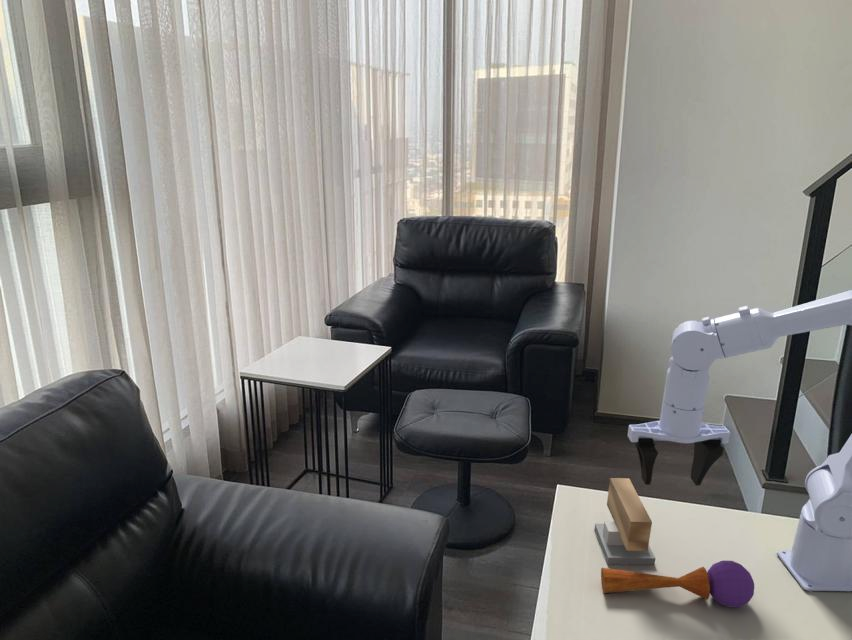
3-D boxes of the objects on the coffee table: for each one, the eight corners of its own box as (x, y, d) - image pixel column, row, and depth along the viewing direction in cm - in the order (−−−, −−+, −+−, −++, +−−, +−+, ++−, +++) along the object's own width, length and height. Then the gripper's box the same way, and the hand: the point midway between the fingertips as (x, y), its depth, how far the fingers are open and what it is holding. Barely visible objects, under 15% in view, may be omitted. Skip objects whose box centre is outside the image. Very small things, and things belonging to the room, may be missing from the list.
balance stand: (637, 530, 102) (640, 511, 101) (654, 565, 94) (657, 544, 93) (594, 529, 102) (596, 510, 101) (607, 564, 94) (610, 543, 93)
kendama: (599, 549, 92) (745, 552, 89) (599, 588, 93) (744, 592, 90) (606, 571, 86) (762, 575, 84) (606, 612, 87) (760, 617, 84)
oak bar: (625, 505, 102) (629, 478, 101) (647, 550, 92) (652, 522, 90) (606, 504, 102) (610, 478, 101) (626, 550, 92) (631, 521, 90)
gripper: (721, 390, 97) (706, 467, 102) (626, 389, 97) (616, 466, 102) (742, 412, 90) (726, 493, 95) (640, 410, 90) (629, 492, 95)
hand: (670, 481), depth 98 cm, fingers open, 7 cm apart
